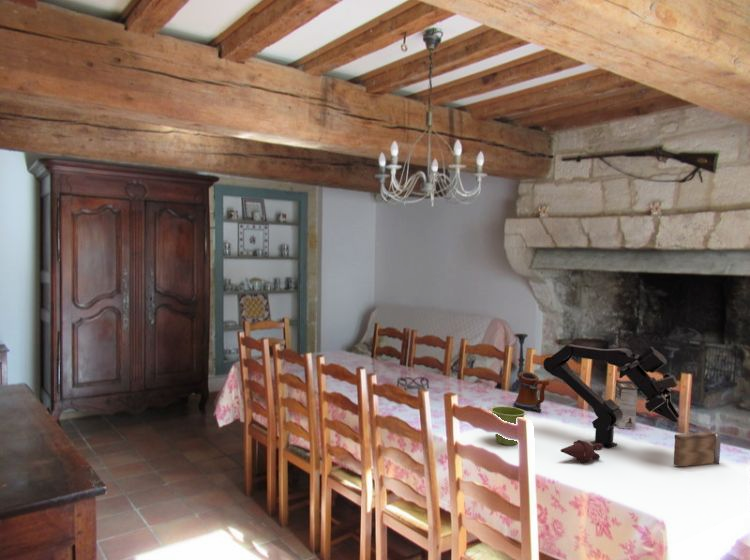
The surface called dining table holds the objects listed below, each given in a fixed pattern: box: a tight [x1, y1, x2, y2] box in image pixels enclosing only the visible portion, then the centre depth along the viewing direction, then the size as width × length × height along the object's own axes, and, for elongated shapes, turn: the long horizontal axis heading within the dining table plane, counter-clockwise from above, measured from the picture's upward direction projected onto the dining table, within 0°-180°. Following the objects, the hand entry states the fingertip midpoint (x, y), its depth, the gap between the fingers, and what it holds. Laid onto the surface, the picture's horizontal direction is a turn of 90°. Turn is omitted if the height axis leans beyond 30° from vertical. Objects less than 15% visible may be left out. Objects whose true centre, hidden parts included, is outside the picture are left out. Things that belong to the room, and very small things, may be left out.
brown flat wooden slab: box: [673, 431, 716, 467], centre depth 180 cm, size 14×2×10 cm, turn 107°
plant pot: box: [490, 405, 527, 446], centre depth 196 cm, size 12×12×11 cm
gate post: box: [712, 432, 722, 465], centre depth 182 cm, size 2×2×10 cm
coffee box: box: [614, 382, 638, 430], centre depth 220 cm, size 9×6×16 cm
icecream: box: [560, 439, 605, 463], centre depth 180 cm, size 7×7×15 cm
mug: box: [513, 371, 551, 413], centre depth 239 cm, size 18×12×15 cm, turn 24°
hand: (677, 419), depth 183 cm, fingers open, 6 cm apart
